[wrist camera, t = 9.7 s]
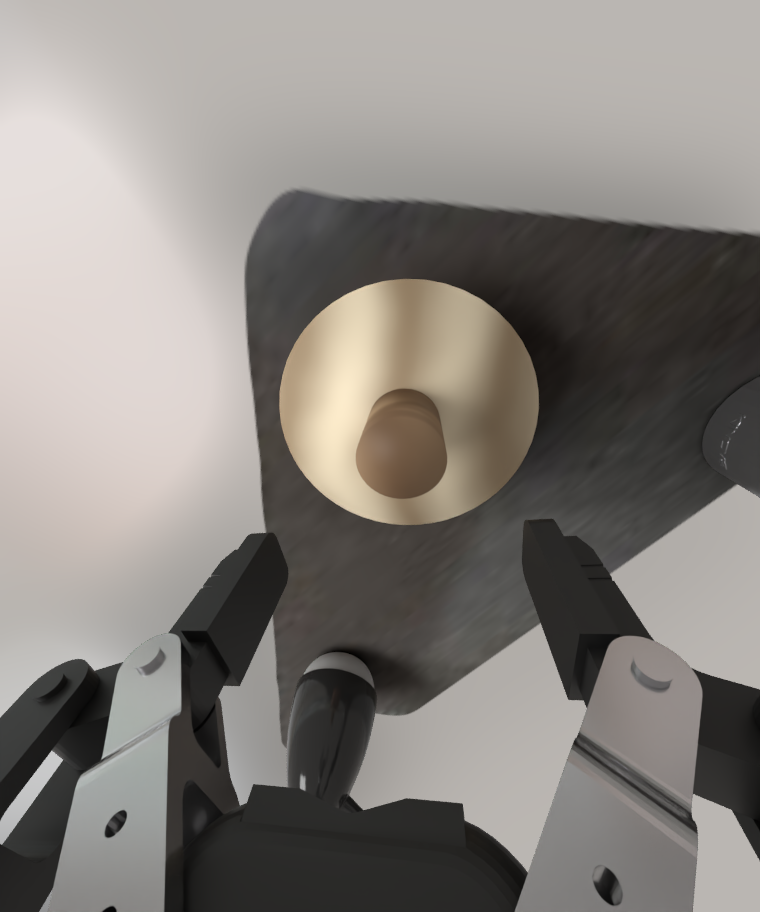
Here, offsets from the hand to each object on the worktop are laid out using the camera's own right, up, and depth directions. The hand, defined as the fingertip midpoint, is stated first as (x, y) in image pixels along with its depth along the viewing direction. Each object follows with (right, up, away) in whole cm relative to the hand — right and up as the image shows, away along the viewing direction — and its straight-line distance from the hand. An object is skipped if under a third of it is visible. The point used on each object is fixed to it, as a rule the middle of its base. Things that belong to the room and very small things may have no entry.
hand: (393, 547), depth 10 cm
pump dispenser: (-5, -25, +34) cm, 42 cm away
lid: (+1, +5, +11) cm, 12 cm away
